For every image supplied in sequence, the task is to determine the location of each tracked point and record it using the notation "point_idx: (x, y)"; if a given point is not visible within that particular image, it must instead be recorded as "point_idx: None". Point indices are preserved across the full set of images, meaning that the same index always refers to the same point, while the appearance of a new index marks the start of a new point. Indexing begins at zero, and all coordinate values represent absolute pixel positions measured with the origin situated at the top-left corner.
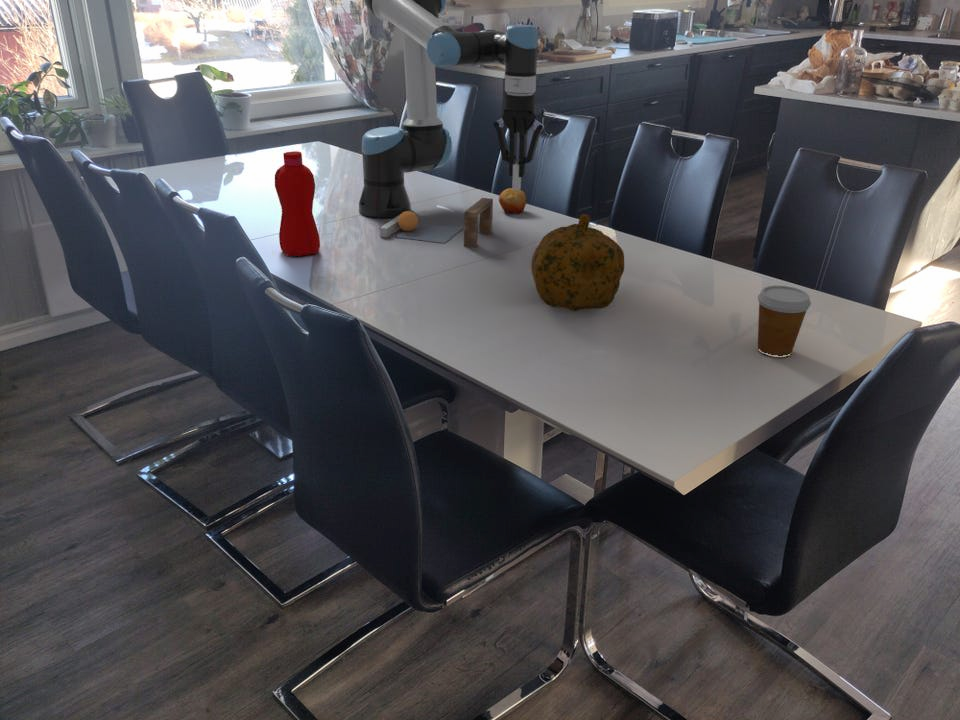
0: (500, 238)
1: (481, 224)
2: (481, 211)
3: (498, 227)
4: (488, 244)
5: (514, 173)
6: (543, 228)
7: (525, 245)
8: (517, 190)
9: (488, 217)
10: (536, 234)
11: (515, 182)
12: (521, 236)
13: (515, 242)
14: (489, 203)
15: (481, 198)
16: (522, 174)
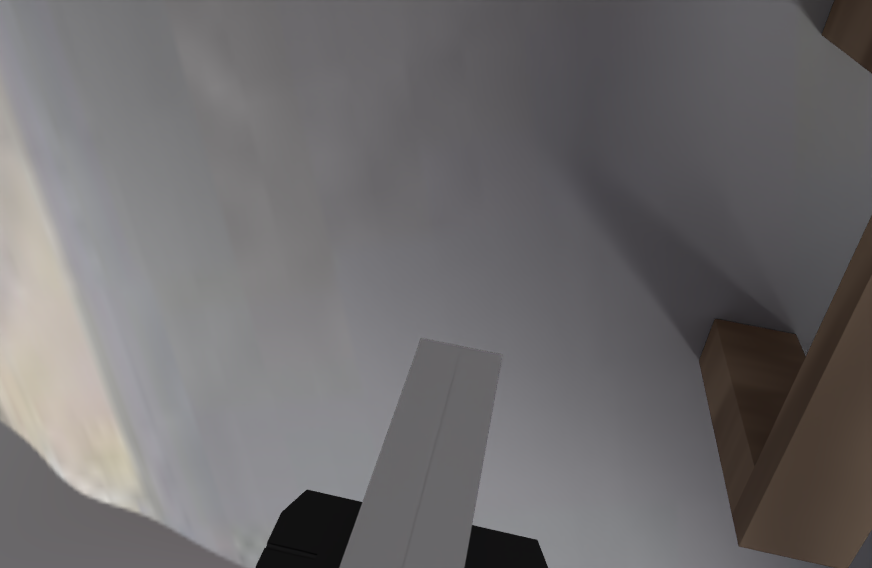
0: (630, 239)
1: (795, 368)
2: (869, 234)
3: (657, 447)
4: (721, 81)
5: (433, 540)
6: (378, 452)
7: (431, 115)
8: (424, 342)
9: (749, 395)
10: (398, 349)
11: (436, 417)
12: (486, 300)
13: (511, 170)
14: (770, 459)
15: (856, 551)
16: (294, 527)
